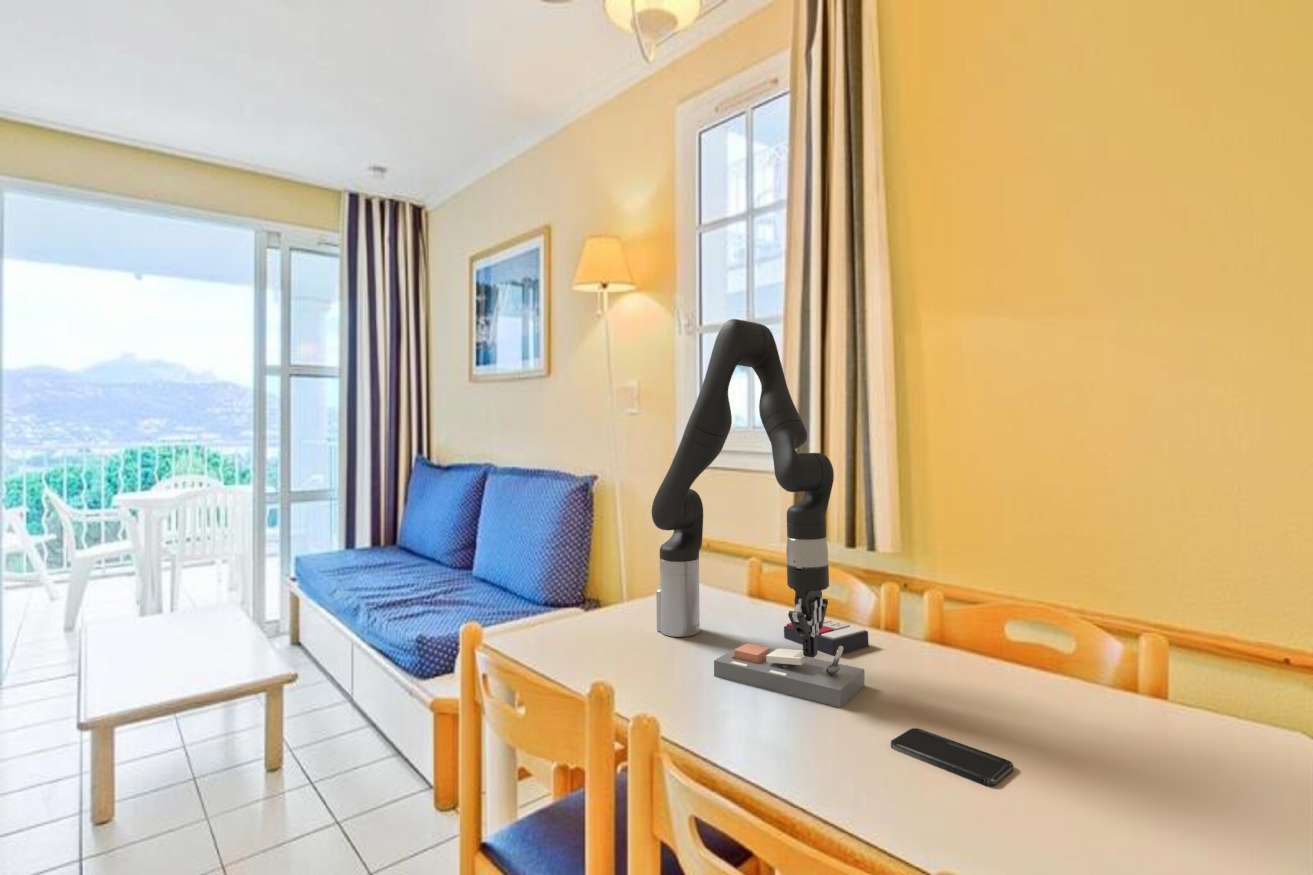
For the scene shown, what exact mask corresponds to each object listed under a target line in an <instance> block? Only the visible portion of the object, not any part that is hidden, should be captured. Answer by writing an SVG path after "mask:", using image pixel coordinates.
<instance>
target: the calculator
mask: <svg viewBox="0 0 1313 875" xmlns="http://www.w3.org/2000/svg"><path fill="white" fill-rule="evenodd" d="M816 636H817V651H819V652H820V653H824V654H826V655H828V656H832V657H835V655H836V652H837V650H838V647H839V646H843V652H842V654H841V656H843V655H846V654H849V653H852V652H857V651H859V650H862V649H866V648H869V647H870V646H869V644H870V643H869V631H868V630H866V629H864V628H860V627H856V626H851V625H850V624H848V623H844V622H840V621H832V620H831V619H826V618H824V622H823V627H822V629H819V634H818V635H816ZM783 637H784V639H786V640H788V641H790V642H791V641H792V642H794V643H797V644H799V645H802V646H803V636H801V635H797V634H796V632H795V630H794V628H793V625H792V623H791V622H790V623H786V625H784V626H783Z"/></svg>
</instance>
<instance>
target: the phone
mask: <svg viewBox="0 0 1313 875" xmlns="http://www.w3.org/2000/svg"><path fill="white" fill-rule="evenodd" d="M890 748H891V749H892V750H893V751H896V752H899V753H901V754H903V755H906V756H908V757H911V758H913V759H916V760H919V761H921V762H923V763H925V764H929V765H931V766H933V767H937V768H938V769H941V770H944V771H946V772H948V773H951V774H954V775H956V776H959V777H961V778H964V779H967V780H969V781H971V782H974V783H976V784H980V785H982V786H985V787H990V788H991V787H992V788H993V787H996V786H997V785H998V784H1000V783H1001V782H1002V781H1004V779H1005V778H1007V777H1008V776H1009V775H1010V774H1012V773H1013V772H1014V763H1013V762H1012V761H1011V760H1009V759H1006V758H1003V757H1000V756H997V755H994V754H992V753H989V752H986V751H983V750H981V749H977V748H975V747H972V746H969V745H967V744H964V743H961V742H958V741H956V740H952V739H950V738H947V737H944V736H941V735H938V734H935V733H934V732H933V733H932V732H930V731H927V730H924V729H921V728H917V727H914V728H913V727H912V728H909V729H908V730H905V732H903V733H902V734H900V735H898V736H896V737H894V738H893V739H891V740H890Z"/></svg>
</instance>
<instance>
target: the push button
mask: <svg viewBox="0 0 1313 875" xmlns="http://www.w3.org/2000/svg"><path fill="white" fill-rule="evenodd" d="M744 644H745V645H743V644H742V645H743V646H741V645H740V646H741V647H739V646H738V647H739V648H737V647H736V648H737V649H736V648H734V649H735V650H734V649H733V650H734V659H737V660H742V661H746V662H750V663H755V664H760V663H762V662H763V661H765V660H766V655H768V654H770V649H771V648H770V647H766V646H762V645H759V644H758V645H756V644H752V643H748V642H746V643H744Z"/></svg>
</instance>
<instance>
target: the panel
mask: <svg viewBox="0 0 1313 875" xmlns="http://www.w3.org/2000/svg"><path fill="white" fill-rule="evenodd" d="M745 644H746V643H743V644H741V645H740V646H739V645H738V646H737V647H736V648H733V649H732V650H731V651H729V652H726V653H725V654H723V655H721V656H720V657H717V658H716V659H713V677H717V678H720V679H721V678H722V679H725V680H729V681H732V682H736V683H741V684H745V685H749V686H752V687H756V688H760V689H765V690H767V691H768V690H769V691H772V692H776V693H781V694H784V695H788V696H792V697H796V698H800V699H804V700H808V701H811V702H816V703H819V704H824V705H827V706H832V707H834V708H835V707H836V708H838V709H840V708H842V707H843V706H844V705H845V704H846V703H847V702H848V701H850V700H851V699H852V698H853V697H854V696H855V695H856V694H857V693H859V691H860V690H862V688H863V687H865V669H864V668H861V667H856V666H853V665H852V666H851V665H846V664H842V663H838V665H839V666H840V670H839V671H838V672H837V673H835V674H834V675H833V676H830V675H828V674H827V672H826V669H827V667H829V666H830V665H831V664H832V663H833V661H828V660H824V659H818V658H814V657H813V658H811V659H809V660H808V661H806V662H805V663H803V664H802V665H793V664H781V663H769V662H766V660H765V661H763V662H762V663H760V664H755V663H750V662H746V661H742V660H737V659H734V650H735V649H737V648H739V647H741V646H743V645H745ZM774 650H775V649H772V648H770V653H771V652H773V651H774Z"/></svg>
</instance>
